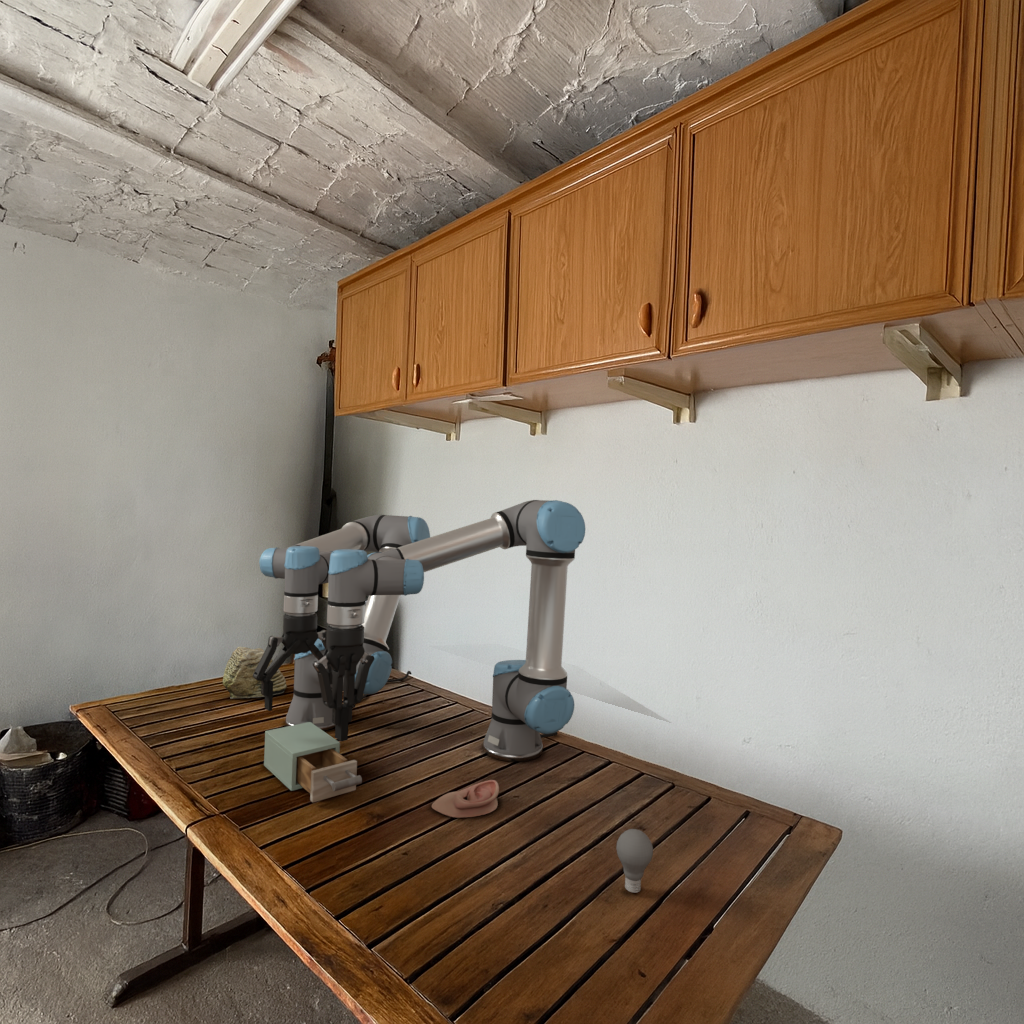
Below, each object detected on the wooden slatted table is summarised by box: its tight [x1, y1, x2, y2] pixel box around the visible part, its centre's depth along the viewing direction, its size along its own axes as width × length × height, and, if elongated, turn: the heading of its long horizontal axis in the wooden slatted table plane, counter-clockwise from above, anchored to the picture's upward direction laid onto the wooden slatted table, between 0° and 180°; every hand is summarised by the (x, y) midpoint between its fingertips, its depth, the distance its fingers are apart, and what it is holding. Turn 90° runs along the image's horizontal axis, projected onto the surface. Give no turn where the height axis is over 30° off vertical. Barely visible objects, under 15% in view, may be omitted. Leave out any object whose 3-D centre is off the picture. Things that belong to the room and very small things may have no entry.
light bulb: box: [615, 828, 654, 894], centre depth 106 cm, size 6×6×10 cm
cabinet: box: [263, 722, 341, 792], centre depth 145 cm, size 16×11×8 cm
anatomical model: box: [431, 779, 500, 819], centre depth 132 cm, size 13×4×12 cm
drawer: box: [296, 749, 363, 803], centre depth 136 cm, size 21×10×6 cm, turn 42°
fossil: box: [222, 646, 288, 699], centre depth 198 cm, size 9×18×15 cm, turn 132°
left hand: (297, 703), depth 148 cm, fingers open, 13 cm apart
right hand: (341, 738), depth 131 cm, fingers closed
